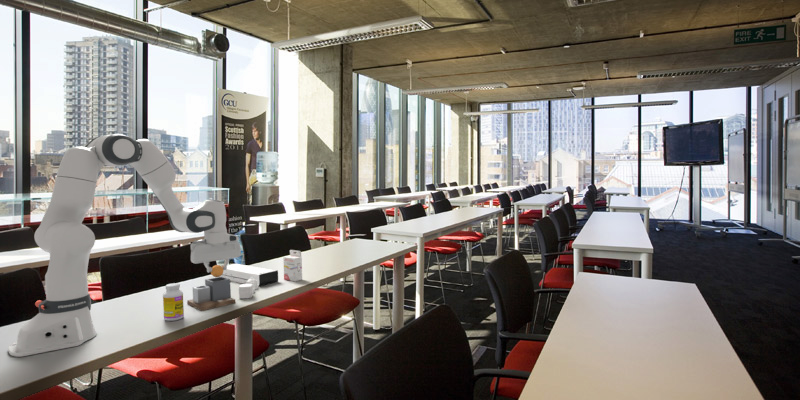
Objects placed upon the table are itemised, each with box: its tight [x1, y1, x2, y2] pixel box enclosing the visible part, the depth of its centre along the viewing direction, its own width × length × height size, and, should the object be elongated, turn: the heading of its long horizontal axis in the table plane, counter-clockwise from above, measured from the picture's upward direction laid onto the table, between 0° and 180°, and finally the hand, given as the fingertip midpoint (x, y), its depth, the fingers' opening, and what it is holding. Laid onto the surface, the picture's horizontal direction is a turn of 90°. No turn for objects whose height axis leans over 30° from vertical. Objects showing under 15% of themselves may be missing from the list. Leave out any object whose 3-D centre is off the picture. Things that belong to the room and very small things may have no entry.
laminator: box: [220, 263, 279, 288], centre depth 228 cm, size 34×12×6 cm, turn 55°
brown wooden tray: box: [186, 297, 236, 312], centre depth 186 cm, size 14×14×2 cm
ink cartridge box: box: [283, 249, 303, 282], centre depth 226 cm, size 9×5×15 cm, turn 58°
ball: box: [210, 264, 223, 278], centre depth 188 cm, size 5×5×5 cm
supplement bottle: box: [162, 282, 185, 322], centre depth 167 cm, size 7×7×13 cm
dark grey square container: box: [204, 277, 232, 302], centre depth 189 cm, size 7×7×8 cm
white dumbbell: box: [238, 278, 259, 299], centre depth 203 cm, size 20×5×6 cm, turn 9°
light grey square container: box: [192, 284, 211, 304], centre depth 184 cm, size 5×5×6 cm
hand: (217, 270), depth 188 cm, fingers closed on ball, 5 cm apart
